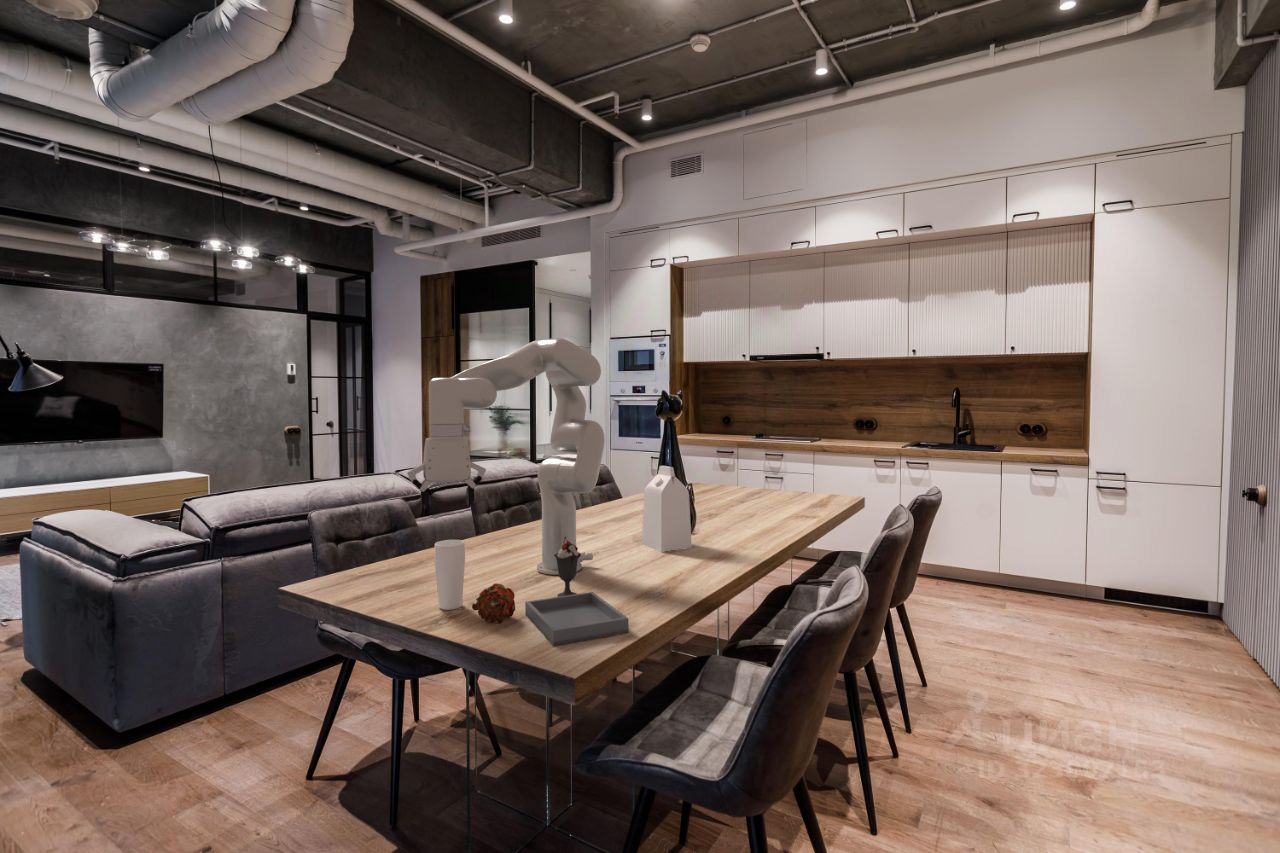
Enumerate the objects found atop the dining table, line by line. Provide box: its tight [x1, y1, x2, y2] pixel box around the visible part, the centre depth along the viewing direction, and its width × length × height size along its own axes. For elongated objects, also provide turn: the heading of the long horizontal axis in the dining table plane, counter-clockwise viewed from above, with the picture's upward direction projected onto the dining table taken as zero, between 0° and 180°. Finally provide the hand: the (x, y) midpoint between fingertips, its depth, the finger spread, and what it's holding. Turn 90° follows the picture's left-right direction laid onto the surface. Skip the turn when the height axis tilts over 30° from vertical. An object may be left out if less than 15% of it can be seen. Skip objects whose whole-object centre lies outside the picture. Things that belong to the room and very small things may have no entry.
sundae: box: [553, 536, 582, 597], centre depth 155 cm, size 7×7×15 cm
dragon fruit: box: [471, 582, 516, 624], centre depth 139 cm, size 8×8×12 cm
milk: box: [641, 465, 693, 553], centre depth 207 cm, size 12×12×26 cm
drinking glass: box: [433, 539, 466, 611], centre depth 147 cm, size 7×7×15 cm
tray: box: [524, 591, 630, 647], centre depth 136 cm, size 16×20×3 cm
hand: (447, 506), depth 147 cm, fingers open, 9 cm apart
